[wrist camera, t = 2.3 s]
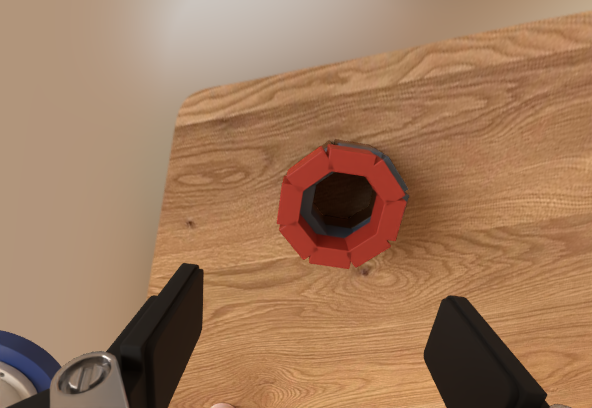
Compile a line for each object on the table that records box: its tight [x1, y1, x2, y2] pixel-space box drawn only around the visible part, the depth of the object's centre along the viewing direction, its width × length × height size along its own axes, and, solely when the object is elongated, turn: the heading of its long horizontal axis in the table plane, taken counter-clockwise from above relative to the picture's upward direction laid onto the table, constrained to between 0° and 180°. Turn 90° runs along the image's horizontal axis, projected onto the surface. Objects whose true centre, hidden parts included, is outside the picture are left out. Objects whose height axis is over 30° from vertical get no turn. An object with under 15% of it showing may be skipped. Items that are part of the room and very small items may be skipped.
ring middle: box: [300, 142, 409, 238], centre depth 25 cm, size 9×9×2 cm
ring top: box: [277, 144, 407, 269], centre depth 22 cm, size 9×9×2 cm
